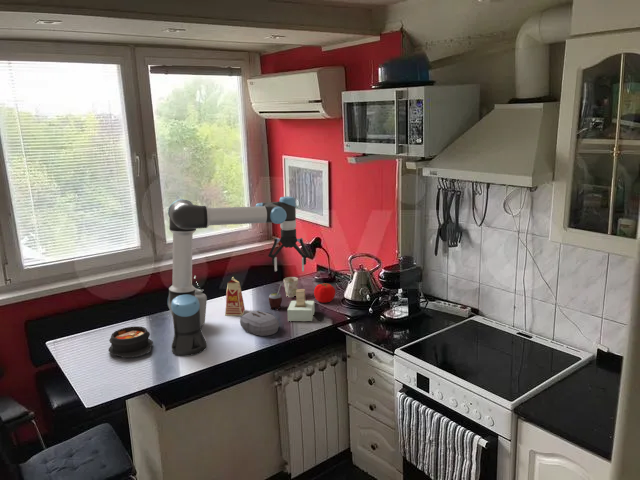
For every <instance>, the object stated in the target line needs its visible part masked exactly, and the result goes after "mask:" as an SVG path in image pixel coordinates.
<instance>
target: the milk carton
mask: <svg viewBox="0 0 640 480" xmlns="http://www.w3.org/2000/svg"><path fill="white" fill-rule="evenodd" d="M225 297H226V299H225V302H226V303H225V312H224V313H225V314H224V316H227V317H228V316H230V317H231V316H232V317H233V316H234V317H235V316H237V317H238V316H240V317H241V316H243V315H244V313H245V310H246V309H245V303H244V302H245V301H244V297H243V293H242V287H241V283H240V281H239V280H237V279H235V277H234V276H232V277H231V279H230V281H228V282H227V287H226V293H225Z"/></svg>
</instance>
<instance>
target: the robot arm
mask: <svg viewBox="0 0 640 480" xmlns="http://www.w3.org/2000/svg"><path fill="white" fill-rule="evenodd" d="M296 204H297V203H296V198H295V197H294V196H288V195H287V196H286V195H285V196H280V197H279V200H278V201H271V202H270V201H269V202H268V201H267V202H258V203H256V204H255V206H234V207H231V206H228V207H227V206H226V207H208V205H197V204H194V203H192V202H191V201H190V200H188V199H182V198H181V199H177V200H174V201H173V202H172V203H171V204H170V205H169V207H168V210H167V214H168V215H167V216H168V217H169V223H168V225H169V231H170V232H171V233H172V285H171V286H169V287H168V297H167V307H168V309H169V312H170V314H171V316H172V322H173V332H174V335H173V338H172V342H171V353H172V354H173V355H175V356H180V357H181V356H183V357H186V356H193V355H194V356H195V355H197V354H201V353H202V352H204V351H205V350H207V348H208V345H207V343H208V342H207V340H206V337H205V335H204V333H203V331H202V325H201V320H200V309H199V308H200V304H199V300H198V298H197V297H196V296H195V289H196V287H195V286H194V285H193V240H194V239H193V234H194V233H195V232H196V231H197V230H198V229H207V228H209V227H210V226H224V225H225V226H228V225H230V226H231V225H248V224H249V225H250V224H272V223H273V224H275V225H279V226H280V238H278V237H275V238H274V240H273V244H272V247H271V249H270V251H269V253H268V255H267V256H268V257H269V258H271V264H272V265H273V266H274V272H277V271H278V257H277V255H278V254H279V253H280V252H281V250H282V249H283V248H285V249H286V248H289V249H290V248H294V249H295V250H296V251H297V252H298V254H299V255H300V256H301V257H302V258H301V272H305V265H306V264H307V259H308V258H309V257H310V256H311V254H310V252H309V250H308V249H307V247H306V244H305V243H304V239H303V238H302V237H300V238H297V229H296V228H297V218H296V215H297V214H296V212H297V211H296V210H297V206H296ZM279 242H280V244H281V245H280V246H279V247H278V248H277V250H276V251H275V248H276V246H277V244H279ZM297 242H298V243H299V244H300V246H301V248H302V249H301V248H300V247H299V246H298V244H297ZM274 251H275V252H274Z"/></svg>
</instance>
